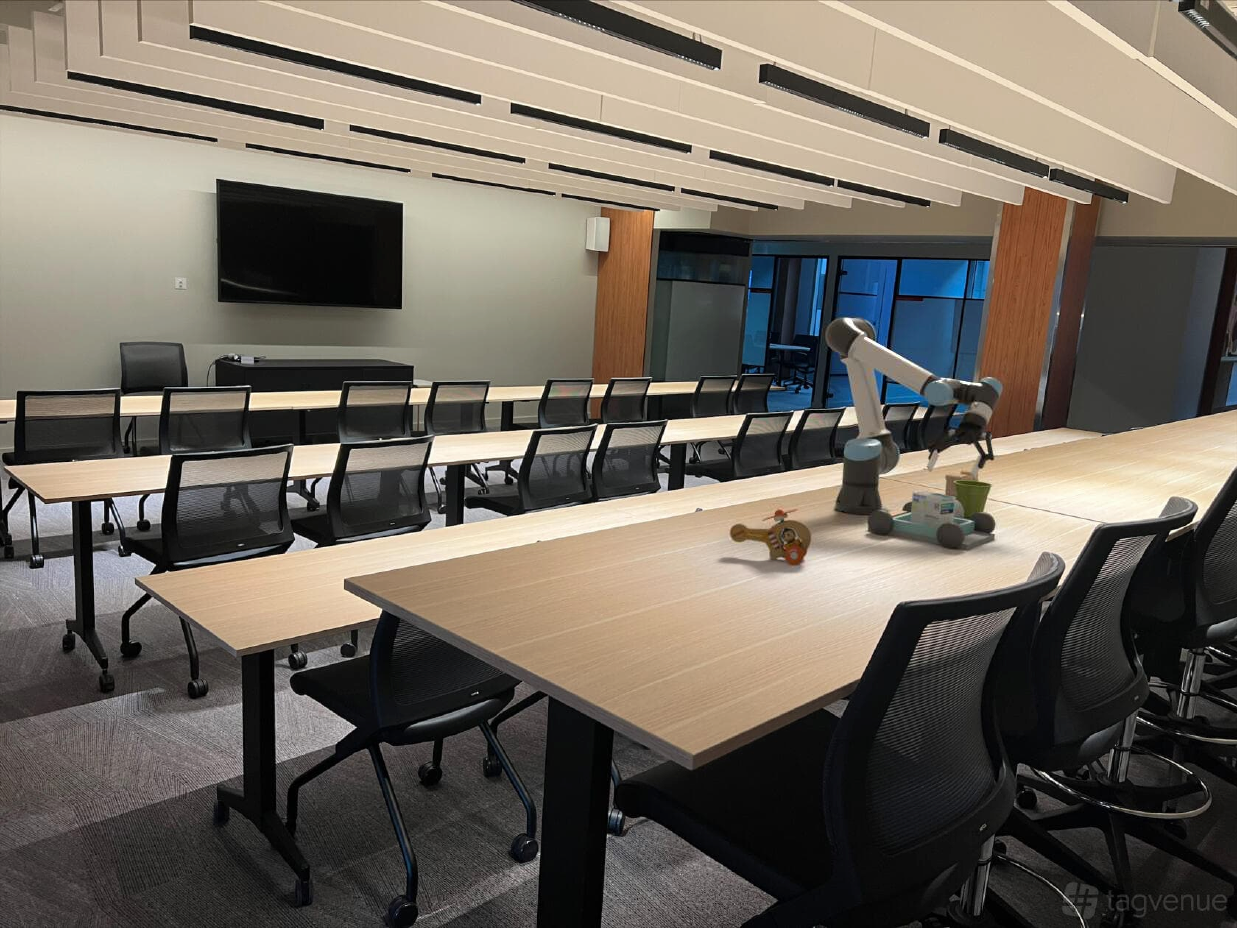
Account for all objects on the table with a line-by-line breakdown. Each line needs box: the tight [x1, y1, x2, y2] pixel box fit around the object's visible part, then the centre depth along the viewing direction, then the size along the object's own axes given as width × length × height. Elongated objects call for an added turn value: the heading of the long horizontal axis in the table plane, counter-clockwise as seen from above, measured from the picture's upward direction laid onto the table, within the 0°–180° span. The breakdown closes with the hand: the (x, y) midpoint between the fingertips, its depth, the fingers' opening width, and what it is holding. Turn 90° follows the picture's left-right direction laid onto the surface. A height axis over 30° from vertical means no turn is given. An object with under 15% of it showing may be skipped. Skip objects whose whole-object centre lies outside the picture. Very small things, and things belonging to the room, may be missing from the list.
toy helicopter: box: [729, 509, 812, 565], centre depth 234 cm, size 8×21×14 cm, turn 71°
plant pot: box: [954, 480, 994, 519], centre depth 297 cm, size 12×12×11 cm
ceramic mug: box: [954, 500, 966, 519], centre depth 283 cm, size 11×8×8 cm
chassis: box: [867, 501, 996, 551], centre depth 268 cm, size 30×25×7 cm
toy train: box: [944, 470, 979, 500], centre depth 326 cm, size 6×17×10 cm, turn 136°
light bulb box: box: [910, 490, 956, 527], centre depth 268 cm, size 11×7×11 cm, turn 33°
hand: (950, 472), depth 274 cm, fingers open, 13 cm apart
